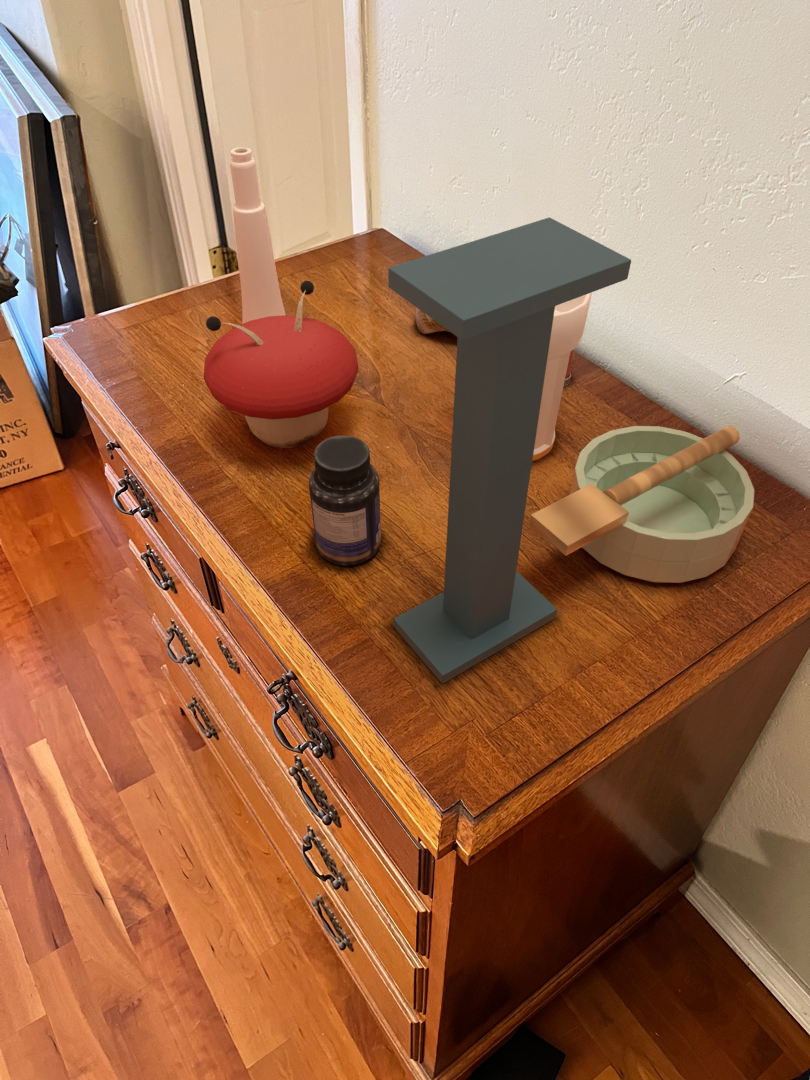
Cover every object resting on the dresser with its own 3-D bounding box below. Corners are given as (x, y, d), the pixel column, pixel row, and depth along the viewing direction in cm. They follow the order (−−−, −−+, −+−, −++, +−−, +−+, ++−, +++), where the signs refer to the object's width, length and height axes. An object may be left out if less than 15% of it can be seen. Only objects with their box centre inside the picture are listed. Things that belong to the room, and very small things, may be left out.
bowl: (769, 541, 74) (791, 493, 70) (652, 613, 68) (669, 566, 64) (646, 454, 83) (658, 407, 79) (533, 511, 77) (540, 463, 73)
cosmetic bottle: (253, 351, 97) (224, 164, 82) (235, 328, 101) (204, 146, 86) (298, 337, 100) (278, 154, 84) (278, 316, 103) (256, 137, 88)
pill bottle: (344, 513, 77) (337, 420, 69) (394, 539, 74) (393, 446, 67) (302, 550, 73) (289, 457, 66) (353, 578, 71) (347, 485, 63)
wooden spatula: (709, 430, 76) (715, 415, 75) (748, 454, 74) (754, 439, 72) (529, 524, 67) (531, 509, 66) (565, 556, 64) (568, 540, 63)
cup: (561, 477, 81) (589, 323, 68) (451, 463, 82) (459, 310, 70) (567, 413, 88) (594, 264, 76) (467, 401, 90) (477, 253, 78)
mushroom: (315, 371, 94) (303, 249, 84) (389, 438, 85) (387, 311, 75) (192, 416, 88) (163, 291, 77) (258, 494, 79) (235, 364, 68)
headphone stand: (555, 618, 68) (631, 259, 45) (442, 684, 63) (463, 320, 40) (503, 568, 72) (549, 216, 49) (393, 627, 67) (387, 267, 44)
